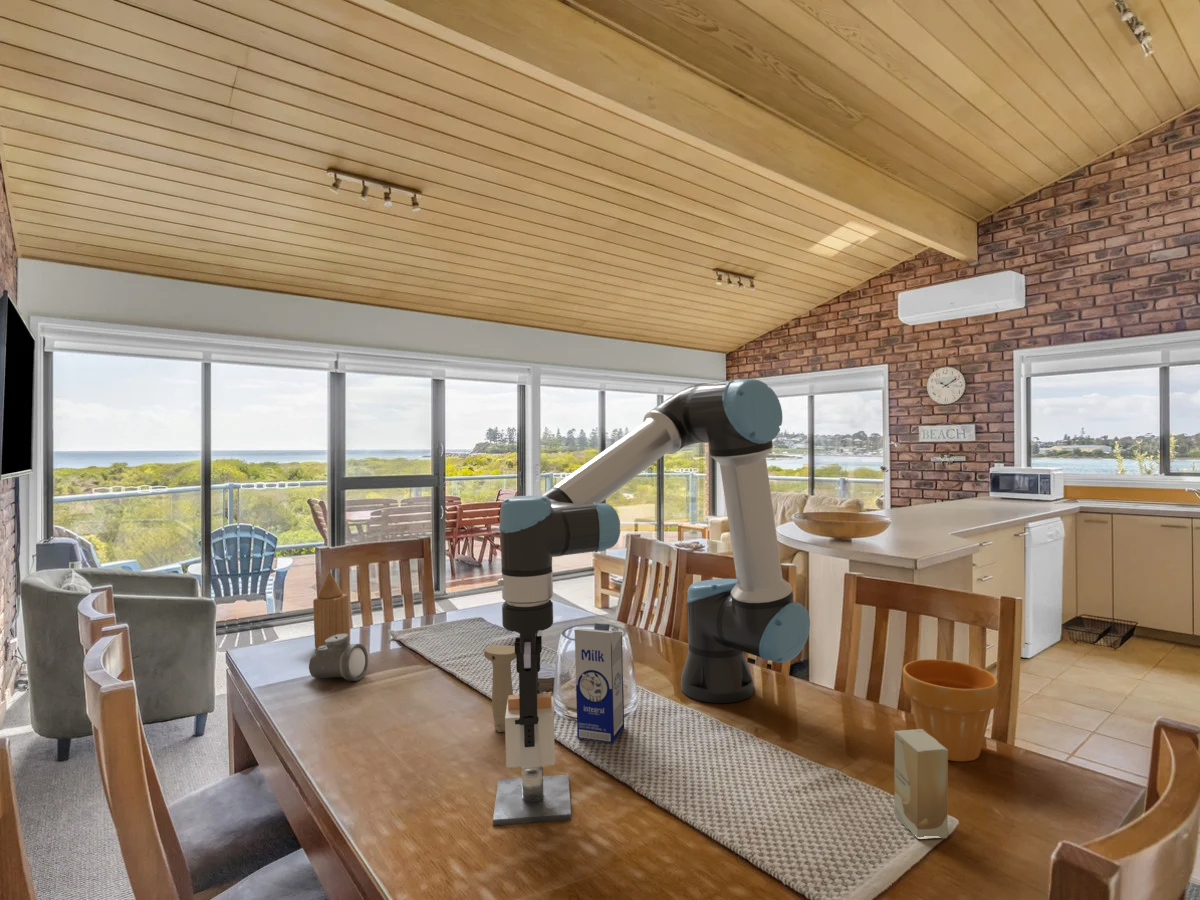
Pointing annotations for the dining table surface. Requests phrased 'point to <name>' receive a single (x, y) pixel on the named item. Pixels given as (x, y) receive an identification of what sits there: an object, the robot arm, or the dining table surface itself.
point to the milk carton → (599, 683)
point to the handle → (500, 681)
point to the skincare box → (921, 783)
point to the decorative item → (330, 612)
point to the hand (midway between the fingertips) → (530, 752)
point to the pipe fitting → (339, 659)
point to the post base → (532, 809)
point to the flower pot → (951, 703)
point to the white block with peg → (545, 730)
